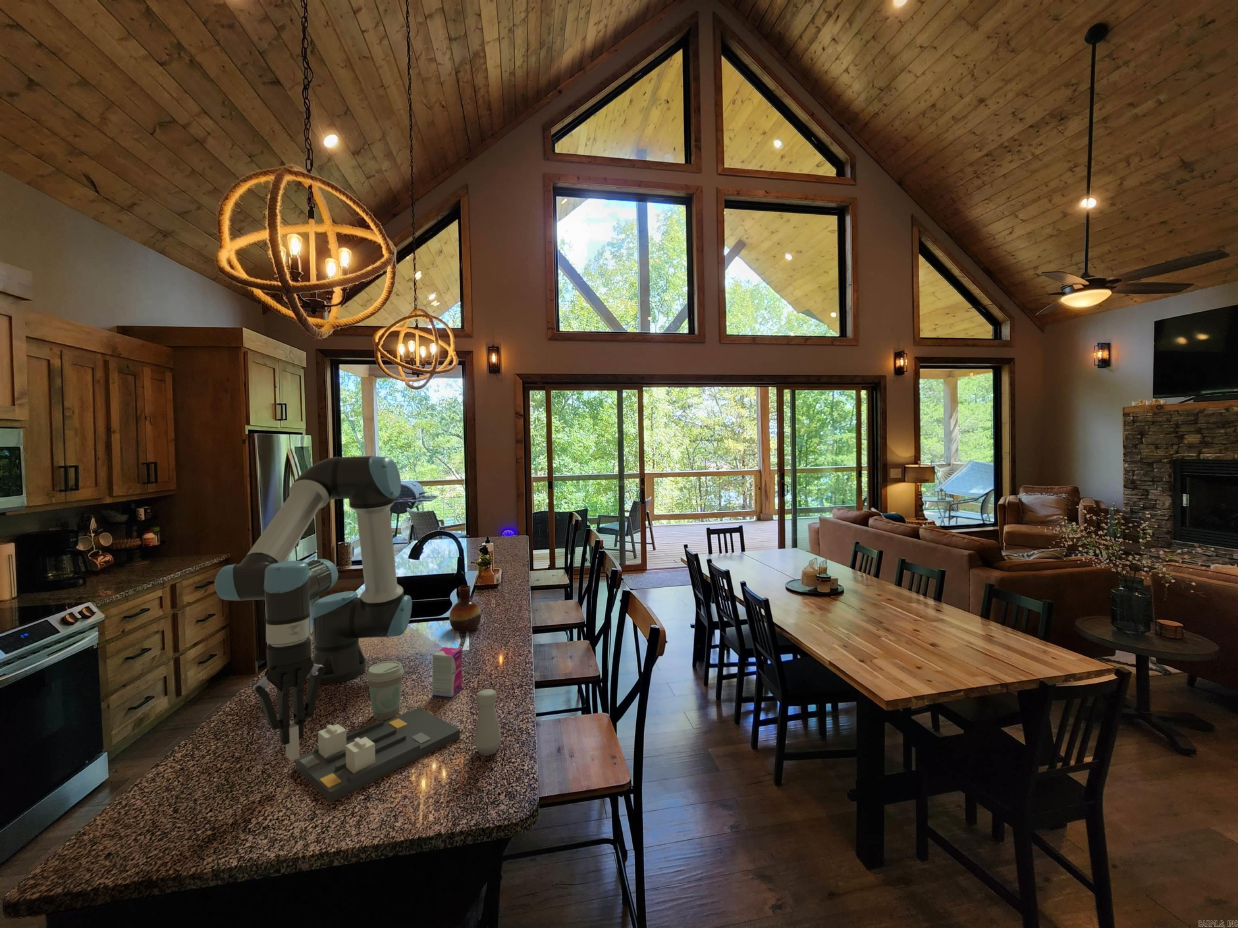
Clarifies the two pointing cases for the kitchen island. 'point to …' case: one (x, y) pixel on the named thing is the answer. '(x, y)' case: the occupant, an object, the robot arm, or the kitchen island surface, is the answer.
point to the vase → (465, 612)
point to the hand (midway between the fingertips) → (292, 756)
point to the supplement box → (447, 672)
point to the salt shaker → (487, 723)
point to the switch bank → (378, 752)
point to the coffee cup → (385, 688)
